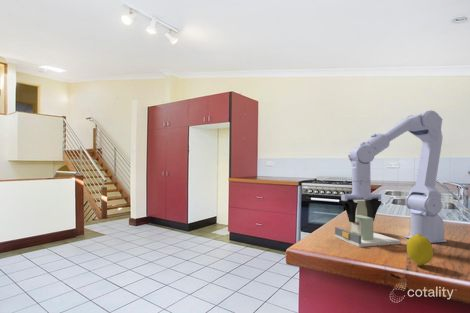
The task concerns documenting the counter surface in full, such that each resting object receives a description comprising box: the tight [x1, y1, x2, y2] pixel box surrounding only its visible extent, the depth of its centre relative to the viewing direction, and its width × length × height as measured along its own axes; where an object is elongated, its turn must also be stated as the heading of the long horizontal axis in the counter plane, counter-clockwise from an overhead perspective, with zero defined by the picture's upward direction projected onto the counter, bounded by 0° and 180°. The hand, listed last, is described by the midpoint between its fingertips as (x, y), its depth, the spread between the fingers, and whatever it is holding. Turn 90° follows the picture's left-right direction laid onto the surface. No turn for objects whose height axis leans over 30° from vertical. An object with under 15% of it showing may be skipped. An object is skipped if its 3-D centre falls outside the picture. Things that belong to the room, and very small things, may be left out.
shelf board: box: [334, 226, 401, 248], centre depth 91 cm, size 16×12×3 cm
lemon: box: [406, 234, 434, 267], centre depth 68 cm, size 6×6×8 cm
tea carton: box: [350, 215, 374, 240], centre depth 90 cm, size 4×6×7 cm
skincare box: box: [353, 200, 367, 217], centre depth 104 cm, size 6×4×12 cm
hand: (361, 221), depth 91 cm, fingers open, 7 cm apart
